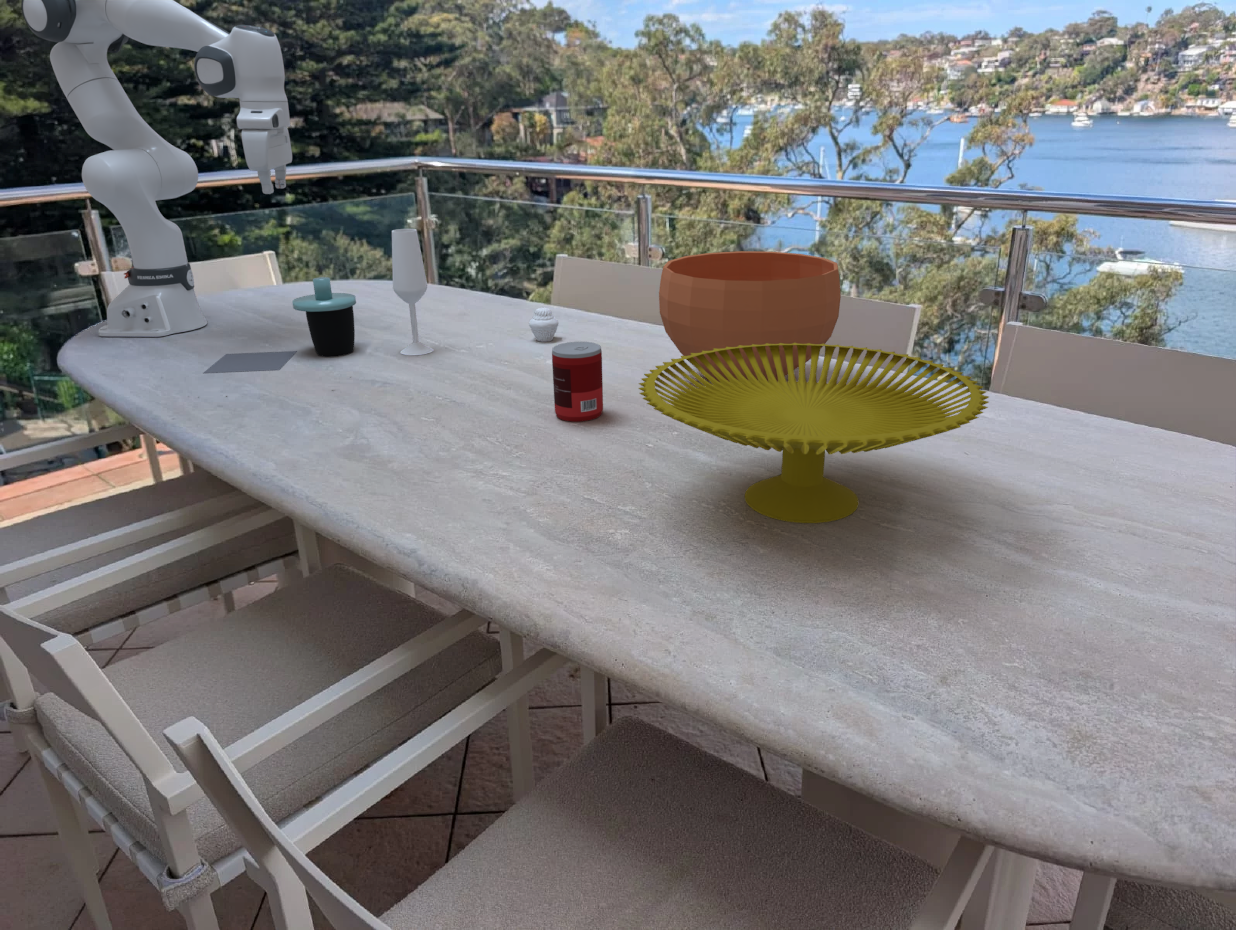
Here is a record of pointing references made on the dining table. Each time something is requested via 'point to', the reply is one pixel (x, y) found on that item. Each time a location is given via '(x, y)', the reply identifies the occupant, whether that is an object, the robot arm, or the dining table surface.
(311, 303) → the lid
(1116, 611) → the dining table surface
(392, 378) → the dining table surface
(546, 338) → the white ridged rounded piece
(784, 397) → the cake stand
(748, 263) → the bowl
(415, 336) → the champagne flute
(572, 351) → the canned food
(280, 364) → the mat
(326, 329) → the mug
